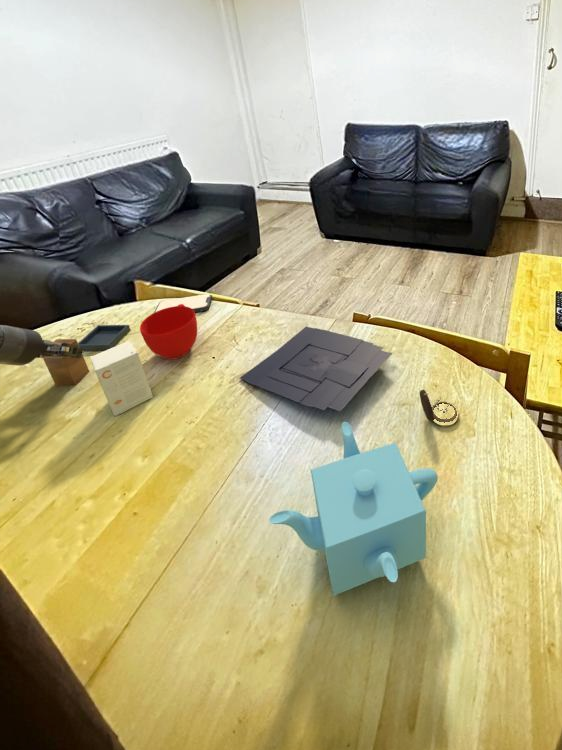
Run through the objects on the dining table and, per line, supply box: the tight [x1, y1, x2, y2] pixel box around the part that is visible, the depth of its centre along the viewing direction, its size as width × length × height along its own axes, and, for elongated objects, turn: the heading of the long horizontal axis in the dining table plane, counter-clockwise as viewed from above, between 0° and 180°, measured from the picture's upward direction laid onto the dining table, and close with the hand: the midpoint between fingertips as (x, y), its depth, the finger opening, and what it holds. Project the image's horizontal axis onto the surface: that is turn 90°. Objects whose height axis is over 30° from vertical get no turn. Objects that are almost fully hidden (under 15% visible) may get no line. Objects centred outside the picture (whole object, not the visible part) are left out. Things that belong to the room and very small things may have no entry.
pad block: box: [42, 338, 90, 387], centre depth 100 cm, size 5×5×10 cm
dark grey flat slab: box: [239, 326, 393, 412], centre depth 100 cm, size 24×30×4 cm
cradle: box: [78, 324, 131, 352], centre depth 115 cm, size 9×9×2 cm
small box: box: [89, 340, 154, 417], centre depth 92 cm, size 8×6×13 cm
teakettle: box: [268, 421, 439, 597], centre depth 62 cm, size 19×19×15 cm
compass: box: [419, 389, 457, 423], centre depth 86 cm, size 8×8×7 cm
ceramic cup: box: [139, 304, 198, 360], centre depth 110 cm, size 13×17×10 cm
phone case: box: [153, 293, 213, 313], centre depth 129 cm, size 9×2×16 cm
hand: (69, 353), depth 101 cm, fingers closed on pad block, 5 cm apart
